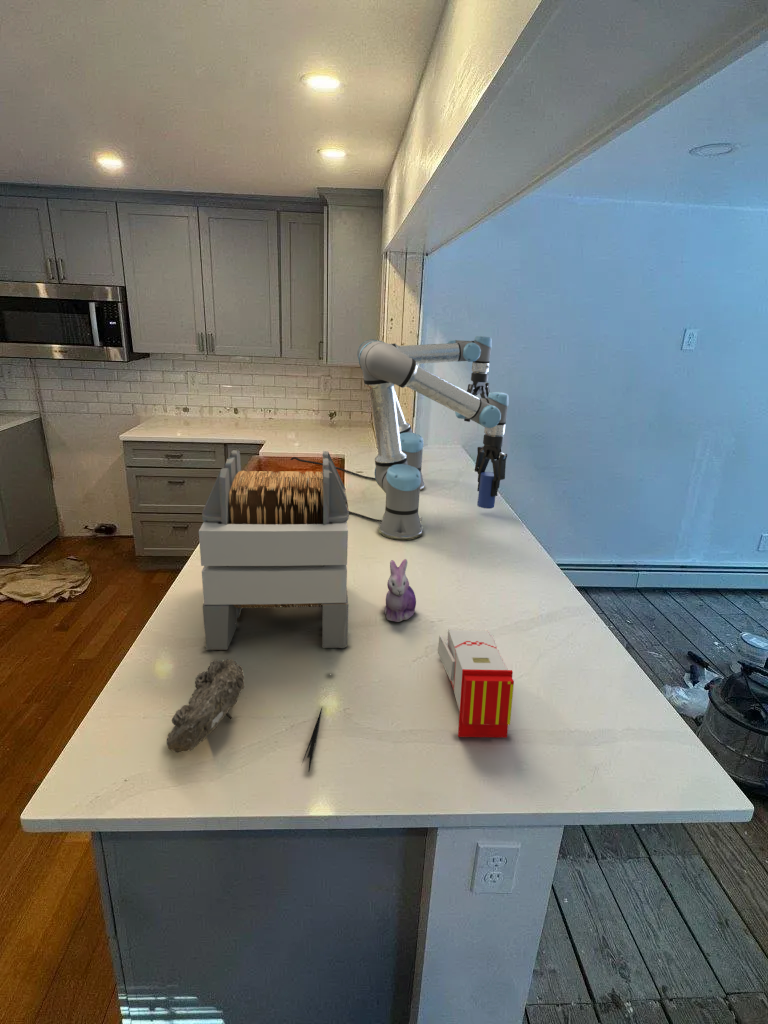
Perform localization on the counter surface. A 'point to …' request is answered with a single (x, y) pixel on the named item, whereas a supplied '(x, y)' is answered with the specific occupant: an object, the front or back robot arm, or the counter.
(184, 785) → the counter surface
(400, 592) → the figurine
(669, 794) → the counter surface
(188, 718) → the fossil
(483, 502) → the can
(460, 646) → the toy
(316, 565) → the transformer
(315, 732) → the feather
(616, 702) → the counter surface
